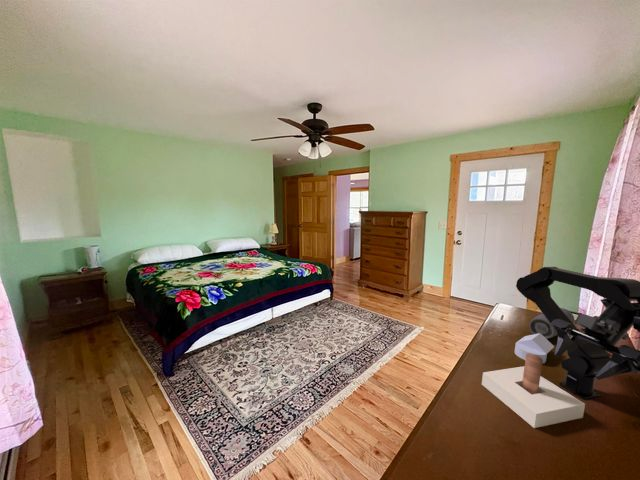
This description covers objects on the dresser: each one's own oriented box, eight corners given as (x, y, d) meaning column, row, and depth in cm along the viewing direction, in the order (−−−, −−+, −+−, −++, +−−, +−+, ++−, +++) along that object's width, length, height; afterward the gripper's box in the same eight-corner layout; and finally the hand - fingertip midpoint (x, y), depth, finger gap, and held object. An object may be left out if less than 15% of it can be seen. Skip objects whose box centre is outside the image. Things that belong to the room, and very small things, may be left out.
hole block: (523, 377, 83) (524, 366, 82) (582, 417, 68) (585, 404, 67) (481, 384, 80) (483, 372, 79) (534, 428, 64) (536, 413, 64)
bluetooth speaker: (547, 323, 122) (550, 303, 120) (574, 332, 114) (577, 310, 112) (525, 335, 110) (528, 313, 109) (553, 346, 102) (557, 322, 101)
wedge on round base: (523, 343, 103) (510, 354, 96) (526, 328, 102) (512, 337, 95) (553, 355, 96) (540, 366, 89) (555, 338, 95) (543, 348, 88)
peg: (520, 393, 76) (525, 352, 74) (535, 398, 74) (542, 357, 72) (520, 400, 73) (526, 358, 71) (536, 406, 71) (543, 363, 69)
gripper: (560, 291, 75) (524, 330, 74) (654, 320, 57) (609, 372, 56) (576, 315, 78) (542, 353, 77) (671, 349, 60) (628, 399, 59)
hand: (574, 366), depth 67 cm, fingers open, 9 cm apart
